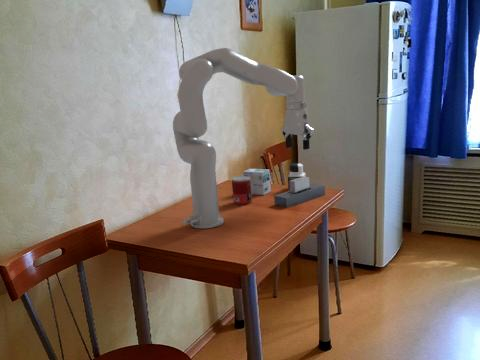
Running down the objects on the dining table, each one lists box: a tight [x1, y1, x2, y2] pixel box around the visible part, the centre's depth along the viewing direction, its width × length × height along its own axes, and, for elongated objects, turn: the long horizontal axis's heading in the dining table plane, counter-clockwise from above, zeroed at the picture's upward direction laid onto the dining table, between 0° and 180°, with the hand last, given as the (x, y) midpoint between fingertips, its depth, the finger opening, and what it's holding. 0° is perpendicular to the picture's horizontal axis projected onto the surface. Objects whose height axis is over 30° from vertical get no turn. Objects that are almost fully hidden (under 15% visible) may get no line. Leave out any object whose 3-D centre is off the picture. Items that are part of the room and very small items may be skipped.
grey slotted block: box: [273, 183, 326, 209], centre depth 187 cm, size 24×7×4 cm, turn 130°
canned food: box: [231, 175, 253, 206], centre depth 188 cm, size 8×8×11 cm
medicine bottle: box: [287, 162, 307, 191], centre depth 203 cm, size 7×7×12 cm
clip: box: [289, 176, 310, 194], centre depth 186 cm, size 9×3×8 cm, turn 130°
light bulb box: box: [242, 168, 272, 196], centre depth 202 cm, size 11×7×11 cm, turn 58°
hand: (297, 148), depth 182 cm, fingers open, 9 cm apart
